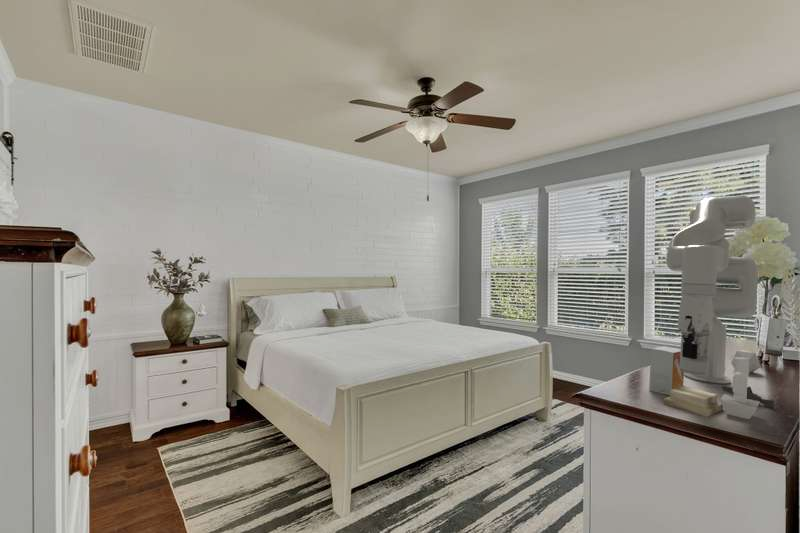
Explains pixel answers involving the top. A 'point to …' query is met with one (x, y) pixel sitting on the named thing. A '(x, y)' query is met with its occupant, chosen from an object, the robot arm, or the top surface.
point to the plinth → (694, 401)
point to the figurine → (740, 392)
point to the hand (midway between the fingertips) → (695, 356)
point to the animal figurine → (751, 396)
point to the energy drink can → (701, 363)
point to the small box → (665, 370)
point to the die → (752, 357)
